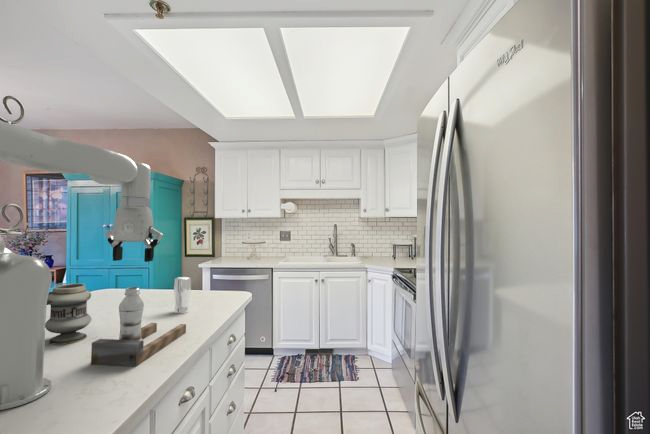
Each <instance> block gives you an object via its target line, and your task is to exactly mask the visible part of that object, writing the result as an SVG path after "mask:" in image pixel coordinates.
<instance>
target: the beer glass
mask: <svg viewBox="0 0 650 434" xmlns="http://www.w3.org/2000/svg"><path fill="white" fill-rule="evenodd" d="M191 279H192V278H191V277H190V276H181V277H180V276H179V277H175V278H174V284H173V293H174V294H173V295H174V301H175V307H174V311H173V312H174V314H179V315H180V314H187V313H188V312H189V311H190V307H189V302H190V301H189V300H190V295H191V291H192V280H191Z"/></svg>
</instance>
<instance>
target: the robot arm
mask: <svg viewBox="0 0 650 434" xmlns="http://www.w3.org/2000/svg"><path fill="white" fill-rule="evenodd" d="M0 162H4V163H9V164H14V165H18V166H21V167H26V168H30V169H34V170H38V171H42V172H51V173H58V174H59V173H63V174H64V173H67V174H68V173H69V174H82V175H88V177H89V178H90V179H91V180H92V182H95V183H97V184H100V185H105V186H107V185H108V186H109V185H113V186H115V185H116V186H118V185H119V186H121V188H120V189H121V191H120V199H118V200H117V204H118V205H120V207H118V208H117V209H116V212H115V215H114V220H113V228H111V229H110V230H108V231H105V233H104V234H105V236H106V239H107V242H108V243H109V244H110V246H111V248H112V261H113V262H114V261H115V262H116V261H117V262H119V261H122V260H123V252H124V251H123V250H124V248H123V244H124V243H125V242H127V243H129V242H130V243H135V242H136V243H140V242H142V243H143V244H144V246H145V247H146V248H145V249H144V257H143V259H144V263H145V262H146V263H147V262H148V263H149V262H153V260H154V257H155V256H154V255H155V254H154V253H155V252H154V251H155V248H156V247H157V245H159V243H160V242H161V240H162V238H163V236H164V234H163V233H162V232H161V231H159V230H157V229H155V227H154V218H153V213H152V212H153V211H152V208H150V201H151V198H150V197H151V178H152V177H151V176H152V174H151V173H152V169H151V166H150V165H148V164H146V163H143V162H135V161H134V160H132V159H131V158H130V157H129V156H127V155H125V154H122V153H118V152H116V151H113V150H109V149H106V148H105V147H104V148H102V147H101V146H95V145H91V144H86V143H81V142H78V141H72V140H69V139H64V138H58V137H54V136H52V135H47V134H44V133H41V132H38V131H34V130H31V129H28V128H25V127H21V126H18V125H15V124H13V123H9V122H6V121H3V120H0ZM154 236H155V238H154ZM52 279H53V277H52V272H51V268H50V267H49V265H48V264H47V263H46V262H45V261H44V260H41V259H40V258H37V257H34V256H32V255H26V254H16V253H14V252H13V251H12V250H10V249H9V248H7V247H6V242H5V239H4V237H3V236H2V235H1V233H0V411H3V410H9V409H12V408H15V407H16V408H17V407H19V406H22V405H26V404H28V403H31V402H34V401H35V400H38V399H40V398H41V397H43V396H44V395H46V394H47V393H48V392H49V391H50V390H51V389H52V381H51V380H50V379H49V378H46V377H45V378H44V363H45V341H46V340H45V339H46V328H45V324H46V322H47V320H46V318H47V305H48V303H47V299H48V296H49V295H50V290H51V286H52V281H53V280H52Z"/></svg>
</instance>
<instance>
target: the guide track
mask: <svg viewBox="0 0 650 434" xmlns="http://www.w3.org/2000/svg"><path fill="white" fill-rule="evenodd" d="M157 327H158V323H157V322H150V323H148V324H146V325H145V326H141V338H142V341H139V340H119V339H115V338H114V339H111V338H99V339H97V340H95V341H94V340H93V342H91V354H90V355H91V356H90V357H91V358H90V365H96V366H98V365H99V366H118V367H119V366H120V367H137V366H139V365H141V364H142V363H143V362H145V361H146V360H148V359H149V358H151V357H152V356H154V355H155V354H156V353H159V352H160V351H161V350H163V349H164V348H166V346H168V345H170V344H172V343H173V342H174V341H176V340H177V339H178V338H180V337H181V336H183V335H185V334H186V332H187V324H186V323H180V324H179V325H176V326H175V327H173V328H172V329H169V331H167V332H165V333H164V334H162V335H160V336H159V337H157V338H155V339H154V340H152V341H150V342H149V343H148V344H145V345H144V342H145V340H144V339H145V338H148V337H150V336H151V335H152V334H154V333H157Z"/></svg>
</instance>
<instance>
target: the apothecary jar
mask: <svg viewBox="0 0 650 434" xmlns="http://www.w3.org/2000/svg"><path fill="white" fill-rule="evenodd" d="M91 297H92V293H91V292H90V291H89V290H87V288H86V284H85V283H80V282H79V283H66V284H65V283H64V284H60V285H55V286H54V287H53V289H52V292H51V293H49V295H48V299H47V305H49V306H50V316H49V319H48V320H46V324H45V330H47V331H48V332H50V333H54V334H57V335H55V336H53V337H51V338H50V339H49V340H48V343H49V344H50V345H57V346H58V345H68V344H73V343H77V342H80V341H83V340H84V339H86V338H87V333H83V332H80V330H82V329H84V328H86V327H87V326H89V324H90V323H91V321H92V317H91V315H90V314H89V313H88V312H87V311H88V309H87V308H88V307H87V303H88V302H87V301H89V300H90V299H91Z"/></svg>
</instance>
